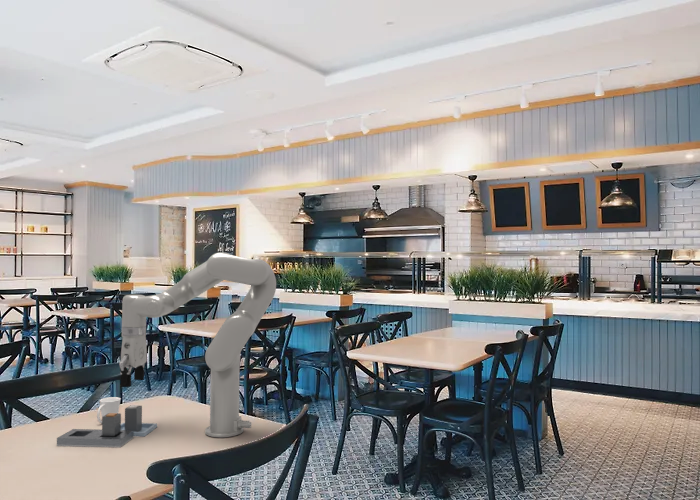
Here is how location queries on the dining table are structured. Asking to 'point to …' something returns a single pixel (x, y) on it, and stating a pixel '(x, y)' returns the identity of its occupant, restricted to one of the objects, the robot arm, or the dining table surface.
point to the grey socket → (98, 434)
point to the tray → (143, 429)
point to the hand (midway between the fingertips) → (132, 383)
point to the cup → (108, 406)
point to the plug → (133, 418)
